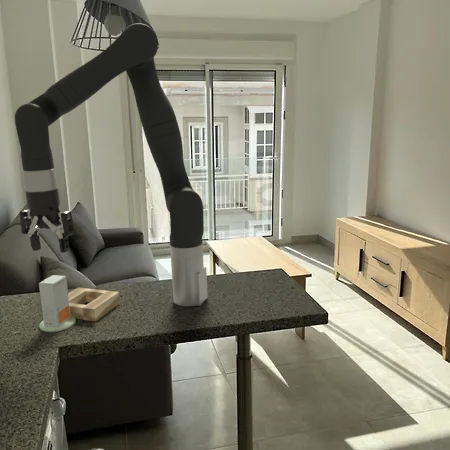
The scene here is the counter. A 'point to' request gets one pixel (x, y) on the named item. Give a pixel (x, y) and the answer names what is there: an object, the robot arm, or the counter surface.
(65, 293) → the skincare box
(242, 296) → the counter surface
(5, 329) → the counter surface
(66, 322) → the coaster
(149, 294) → the counter surface
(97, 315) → the pocket block
